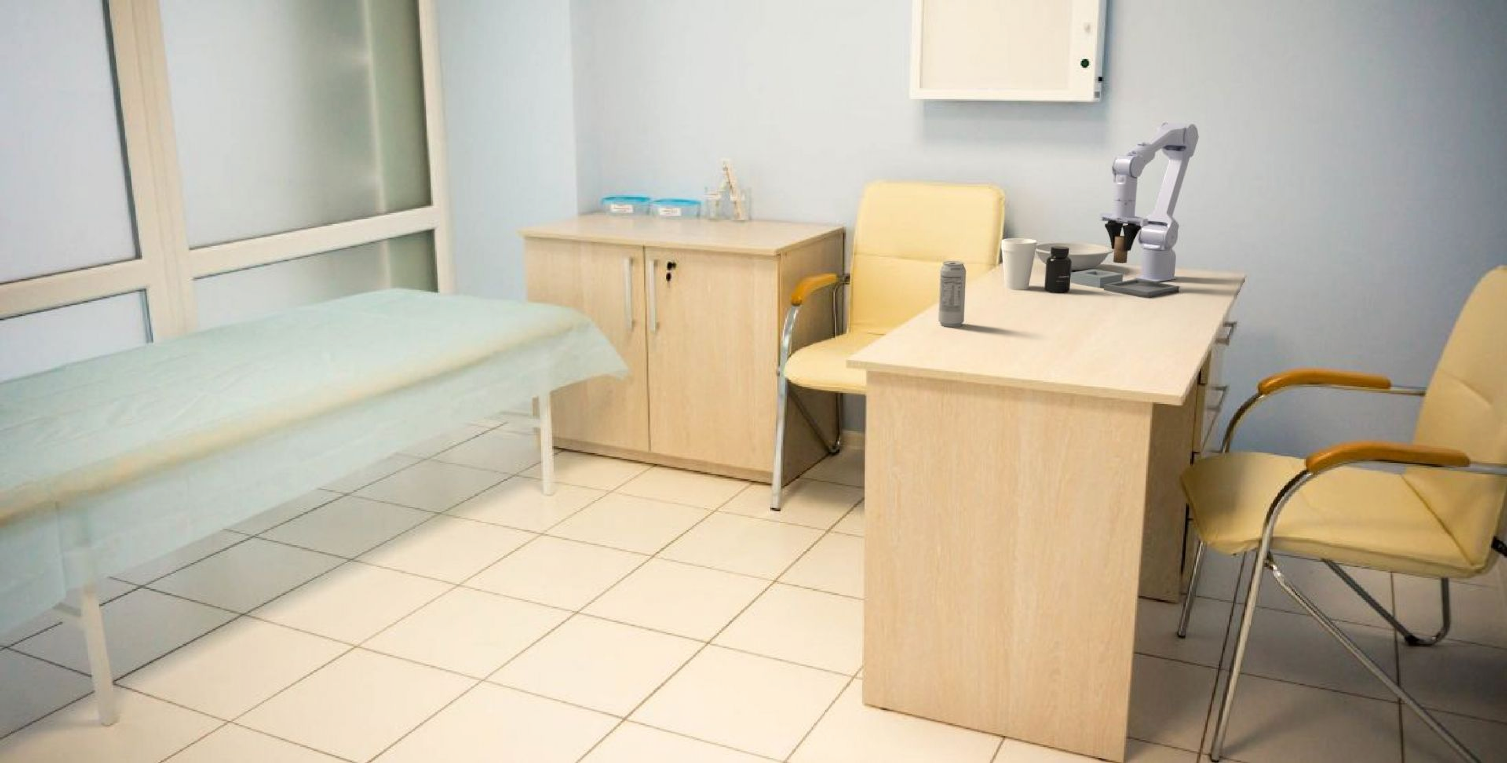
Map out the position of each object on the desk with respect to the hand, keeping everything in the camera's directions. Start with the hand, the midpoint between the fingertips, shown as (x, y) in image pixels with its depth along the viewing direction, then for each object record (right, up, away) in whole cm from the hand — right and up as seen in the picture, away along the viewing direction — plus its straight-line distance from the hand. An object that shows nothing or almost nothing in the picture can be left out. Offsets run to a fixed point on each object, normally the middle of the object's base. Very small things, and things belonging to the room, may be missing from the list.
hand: (1121, 249), depth 342 cm
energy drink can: (-54, -23, -44) cm, 73 cm away
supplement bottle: (-18, -12, -3) cm, 22 cm away
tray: (+4, -12, -3) cm, 13 cm away
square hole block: (-4, -9, +8) cm, 13 cm away
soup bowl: (-6, -3, +30) cm, 31 cm away
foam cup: (-28, -10, +2) cm, 30 cm away
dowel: (0, -3, +1) cm, 3 cm away
